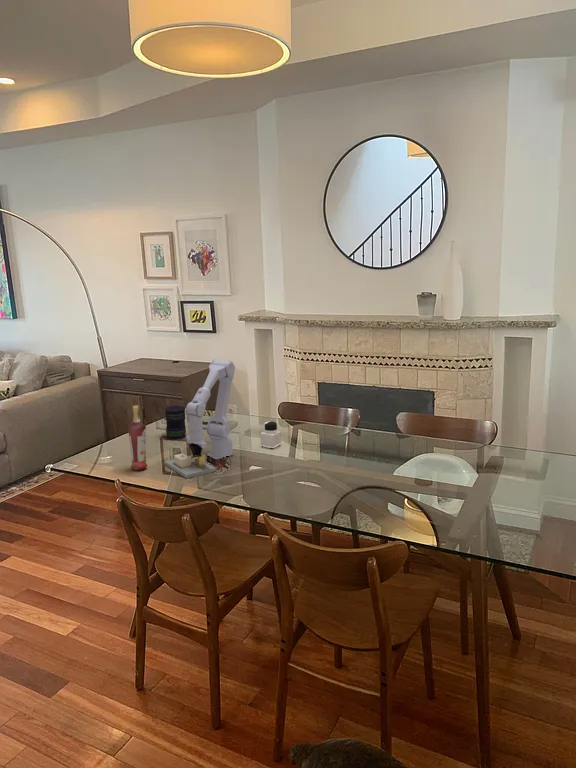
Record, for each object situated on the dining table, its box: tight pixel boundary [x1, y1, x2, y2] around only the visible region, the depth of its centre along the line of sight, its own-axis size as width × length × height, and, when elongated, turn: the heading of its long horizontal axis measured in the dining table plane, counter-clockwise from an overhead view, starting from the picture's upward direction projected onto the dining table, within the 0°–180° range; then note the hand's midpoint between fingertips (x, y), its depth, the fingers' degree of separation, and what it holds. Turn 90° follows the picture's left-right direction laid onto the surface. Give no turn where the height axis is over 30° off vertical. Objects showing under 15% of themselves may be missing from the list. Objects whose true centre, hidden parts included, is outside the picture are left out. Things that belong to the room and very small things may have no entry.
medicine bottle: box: [260, 420, 282, 447], centre depth 283 cm, size 7×7×12 cm
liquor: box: [127, 404, 148, 471], centre depth 252 cm, size 7×7×28 cm
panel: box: [164, 454, 217, 479], centre depth 256 cm, size 14×20×2 cm
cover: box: [173, 453, 191, 468], centre depth 255 cm, size 4×7×4 cm, turn 37°
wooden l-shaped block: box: [190, 452, 207, 468], centre depth 253 cm, size 6×4×5 cm, turn 127°
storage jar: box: [165, 405, 187, 441], centre depth 297 cm, size 10×10×15 cm
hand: (196, 459), depth 256 cm, fingers closed
